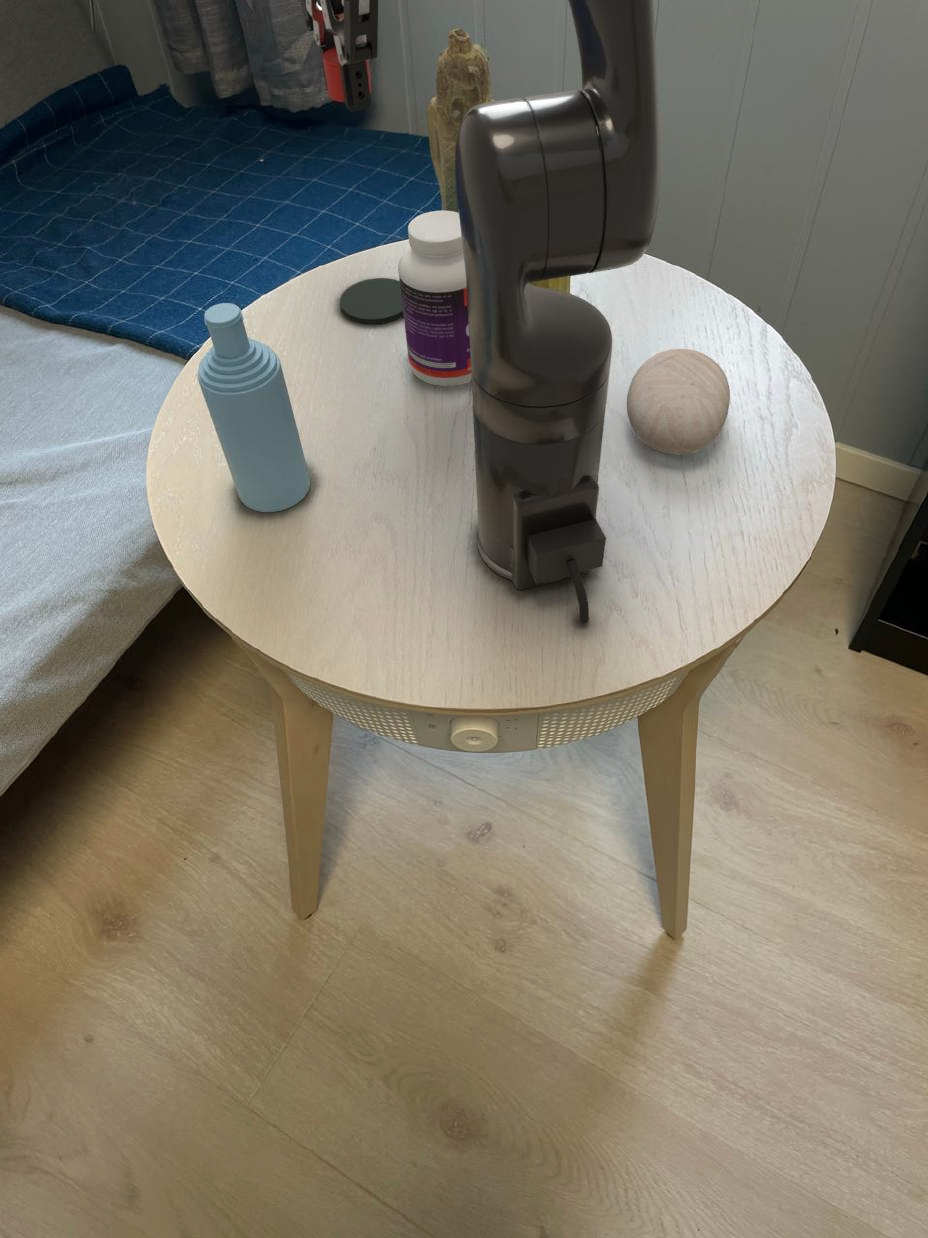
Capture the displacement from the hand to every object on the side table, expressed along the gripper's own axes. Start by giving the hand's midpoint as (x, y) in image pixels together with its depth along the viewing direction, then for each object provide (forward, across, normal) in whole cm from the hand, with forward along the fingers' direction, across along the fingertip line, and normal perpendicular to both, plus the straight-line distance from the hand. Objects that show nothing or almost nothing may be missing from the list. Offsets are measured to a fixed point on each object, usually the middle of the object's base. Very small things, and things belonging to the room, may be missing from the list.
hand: (348, 98), depth 77 cm
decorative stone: (+20, +33, +15) cm, 41 cm away
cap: (0, 0, 0) cm, 1 cm away
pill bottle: (+20, +14, +2) cm, 25 cm away
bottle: (+20, +22, -20) cm, 36 cm away
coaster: (+20, 0, 0) cm, 20 cm away
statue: (+21, +3, +10) cm, 23 cm away
